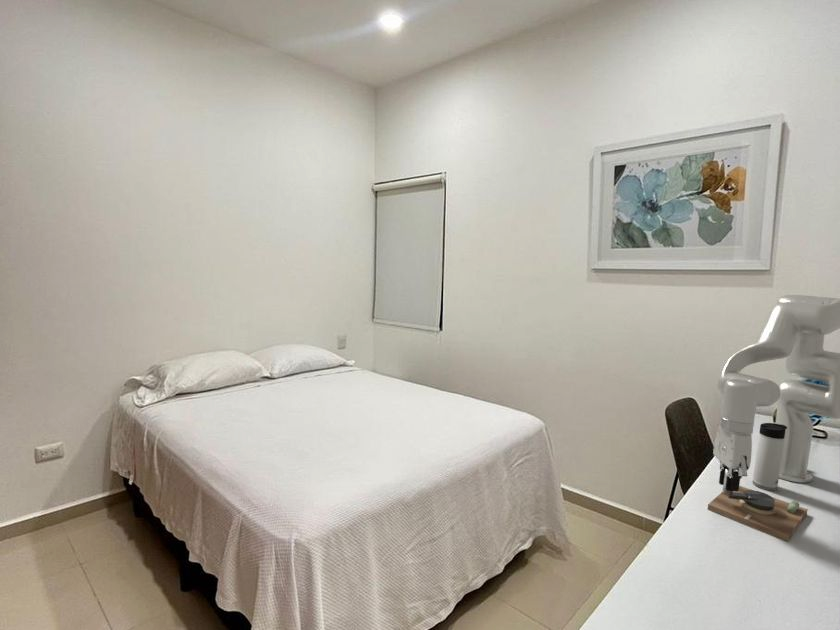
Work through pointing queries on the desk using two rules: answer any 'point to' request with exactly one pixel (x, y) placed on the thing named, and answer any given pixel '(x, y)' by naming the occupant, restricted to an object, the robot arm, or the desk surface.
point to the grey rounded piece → (750, 496)
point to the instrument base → (761, 515)
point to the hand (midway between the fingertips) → (728, 486)
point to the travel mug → (769, 456)
